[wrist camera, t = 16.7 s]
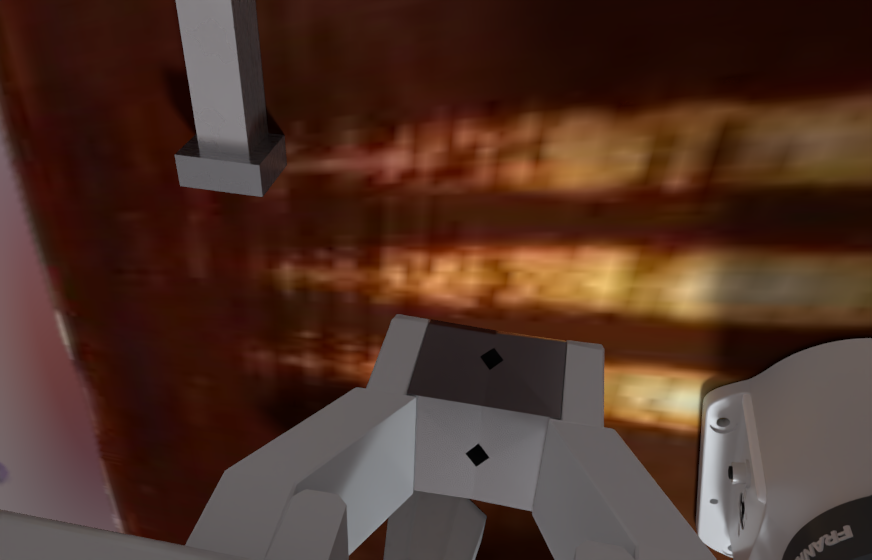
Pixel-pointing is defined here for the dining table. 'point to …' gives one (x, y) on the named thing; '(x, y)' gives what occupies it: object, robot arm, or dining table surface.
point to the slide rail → (226, 101)
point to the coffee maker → (434, 528)
